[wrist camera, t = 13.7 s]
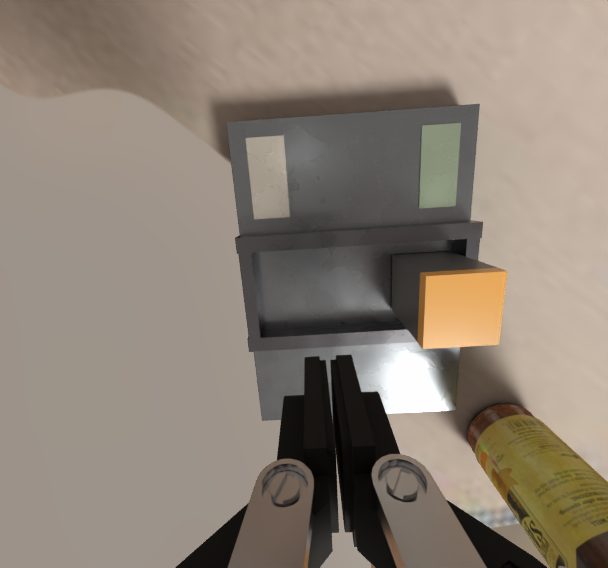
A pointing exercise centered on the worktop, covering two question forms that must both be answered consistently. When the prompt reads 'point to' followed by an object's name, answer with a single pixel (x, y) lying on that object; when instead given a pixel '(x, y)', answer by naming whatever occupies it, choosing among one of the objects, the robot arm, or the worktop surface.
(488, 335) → the toggle
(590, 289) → the worktop surface
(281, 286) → the panel
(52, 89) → the worktop surface
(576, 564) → the sauce bottle
